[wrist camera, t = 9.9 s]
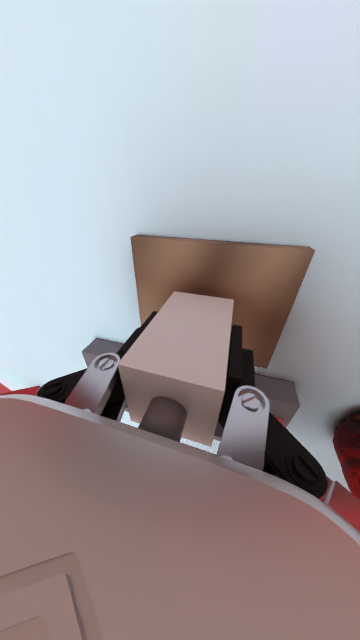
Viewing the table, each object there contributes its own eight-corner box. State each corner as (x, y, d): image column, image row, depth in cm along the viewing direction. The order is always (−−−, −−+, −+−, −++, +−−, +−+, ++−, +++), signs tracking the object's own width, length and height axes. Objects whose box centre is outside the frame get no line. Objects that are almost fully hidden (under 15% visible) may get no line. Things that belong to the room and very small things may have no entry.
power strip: (293, 382, 17) (304, 423, 14) (271, 421, 21) (276, 460, 18) (96, 338, 22) (71, 361, 19) (107, 376, 26) (88, 400, 23)
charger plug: (233, 299, 12) (221, 428, 5) (224, 346, 14) (206, 479, 7) (174, 291, 13) (96, 390, 6) (174, 336, 15) (117, 446, 8)
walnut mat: (309, 247, 11) (315, 250, 11) (265, 360, 17) (266, 368, 16) (136, 234, 14) (130, 236, 13) (147, 336, 20) (143, 341, 19)
